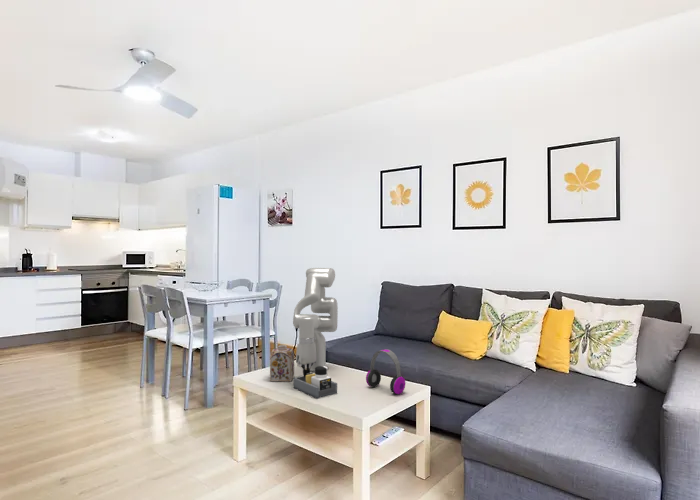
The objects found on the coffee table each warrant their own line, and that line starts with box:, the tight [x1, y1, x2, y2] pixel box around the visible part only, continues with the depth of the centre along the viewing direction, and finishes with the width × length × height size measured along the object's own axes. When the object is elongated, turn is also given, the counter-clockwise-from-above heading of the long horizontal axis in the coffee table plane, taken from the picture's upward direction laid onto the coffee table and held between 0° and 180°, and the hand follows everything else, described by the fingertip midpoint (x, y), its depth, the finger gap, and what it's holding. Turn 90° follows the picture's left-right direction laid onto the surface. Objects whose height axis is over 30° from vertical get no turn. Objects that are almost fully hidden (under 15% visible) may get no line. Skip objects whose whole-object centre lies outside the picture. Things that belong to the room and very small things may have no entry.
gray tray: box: [292, 375, 338, 399], centre depth 213 cm, size 21×12×5 cm, turn 39°
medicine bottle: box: [311, 366, 332, 391], centre depth 209 cm, size 7×7×12 cm
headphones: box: [365, 348, 407, 395], centre depth 214 cm, size 21×9×20 cm, turn 45°
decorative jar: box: [269, 344, 295, 383], centre depth 234 cm, size 12×12×18 cm
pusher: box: [306, 371, 315, 384], centre depth 215 cm, size 5×9×7 cm, turn 129°
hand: (306, 376), depth 219 cm, fingers closed
